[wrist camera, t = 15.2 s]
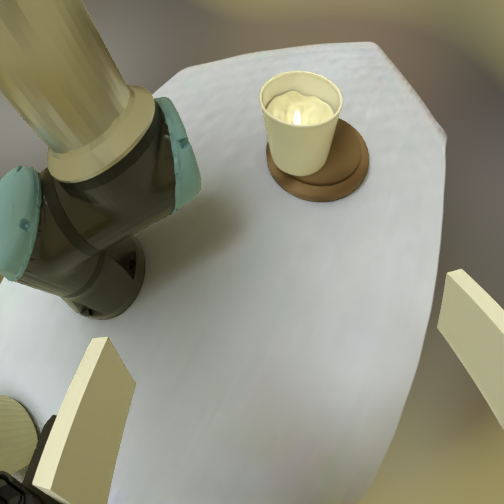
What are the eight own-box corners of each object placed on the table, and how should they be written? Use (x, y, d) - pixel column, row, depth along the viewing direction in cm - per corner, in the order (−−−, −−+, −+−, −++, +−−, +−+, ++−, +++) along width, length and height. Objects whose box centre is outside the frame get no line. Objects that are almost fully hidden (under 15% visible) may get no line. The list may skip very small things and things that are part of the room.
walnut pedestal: (246, 162, 49) (243, 150, 46) (307, 107, 52) (308, 93, 48) (328, 222, 45) (331, 212, 41) (383, 155, 47) (388, 143, 44)
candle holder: (274, 123, 47) (269, 66, 35) (336, 135, 45) (346, 78, 34) (258, 174, 44) (248, 118, 33) (326, 188, 42) (337, 134, 31)
